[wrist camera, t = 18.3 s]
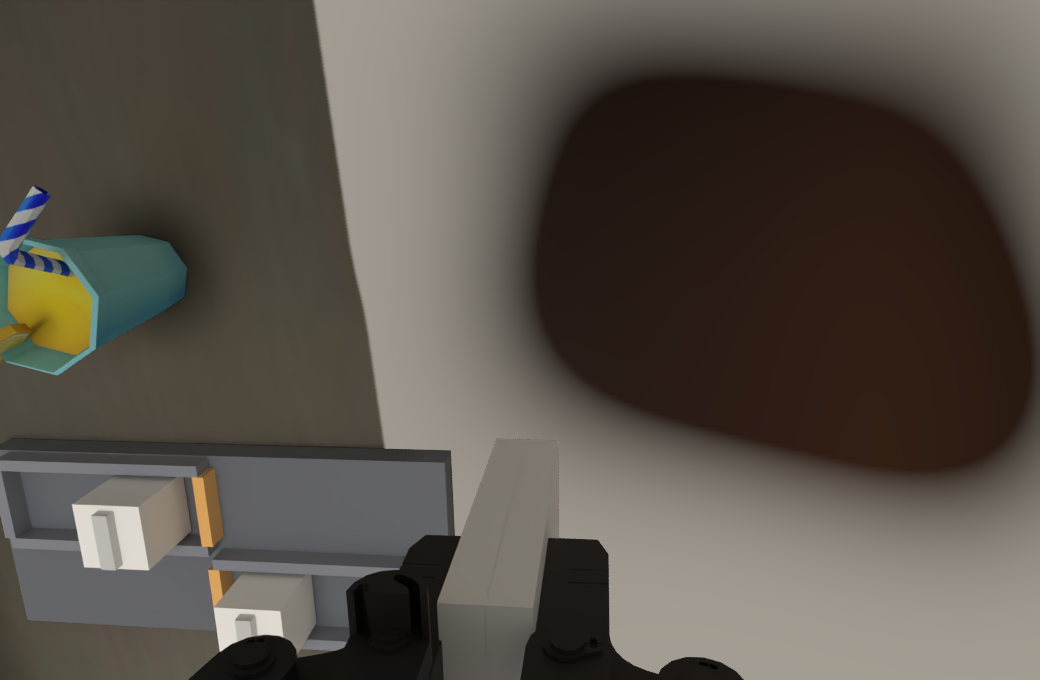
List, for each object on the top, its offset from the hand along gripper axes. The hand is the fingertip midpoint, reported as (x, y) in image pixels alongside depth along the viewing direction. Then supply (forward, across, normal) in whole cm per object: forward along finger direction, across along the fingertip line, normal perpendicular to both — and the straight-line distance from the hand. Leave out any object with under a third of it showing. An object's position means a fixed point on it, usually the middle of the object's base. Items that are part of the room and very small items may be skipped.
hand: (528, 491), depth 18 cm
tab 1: (+27, -29, -16) cm, 43 cm away
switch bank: (+29, -25, -19) cm, 43 cm away
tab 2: (+27, -21, -22) cm, 41 cm away
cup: (+30, -28, +1) cm, 41 cm away
